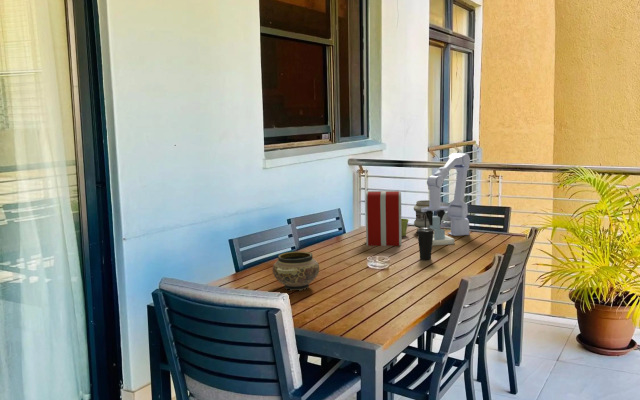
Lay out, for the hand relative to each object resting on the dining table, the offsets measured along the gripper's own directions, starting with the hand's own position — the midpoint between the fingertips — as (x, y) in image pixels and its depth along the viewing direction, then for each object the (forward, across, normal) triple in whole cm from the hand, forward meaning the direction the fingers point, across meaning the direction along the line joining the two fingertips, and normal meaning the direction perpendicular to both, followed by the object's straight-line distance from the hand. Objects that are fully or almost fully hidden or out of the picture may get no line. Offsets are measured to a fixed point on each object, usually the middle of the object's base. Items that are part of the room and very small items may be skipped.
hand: (435, 225), depth 308 cm
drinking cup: (+9, -20, -37) cm, 43 cm away
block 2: (+7, 0, -6) cm, 9 cm away
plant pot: (+9, -12, +20) cm, 25 cm away
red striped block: (+9, -26, +5) cm, 28 cm away
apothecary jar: (+9, +3, +22) cm, 24 cm away
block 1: (+2, 0, 0) cm, 2 cm away
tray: (+8, 0, -3) cm, 9 cm away
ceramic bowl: (+9, -84, -65) cm, 107 cm away
